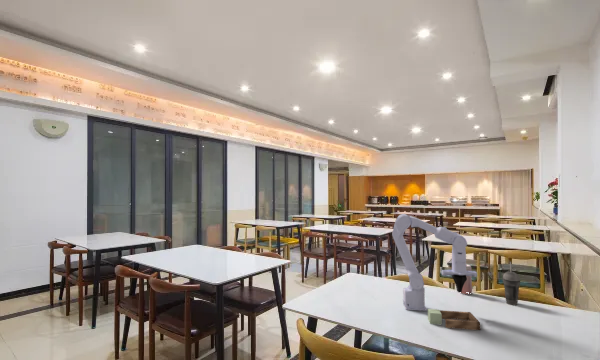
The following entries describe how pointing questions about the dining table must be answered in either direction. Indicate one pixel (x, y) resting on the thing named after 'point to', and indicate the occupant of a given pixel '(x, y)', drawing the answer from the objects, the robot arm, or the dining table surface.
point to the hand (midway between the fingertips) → (459, 291)
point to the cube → (434, 316)
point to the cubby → (460, 320)
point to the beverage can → (467, 282)
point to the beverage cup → (511, 287)
